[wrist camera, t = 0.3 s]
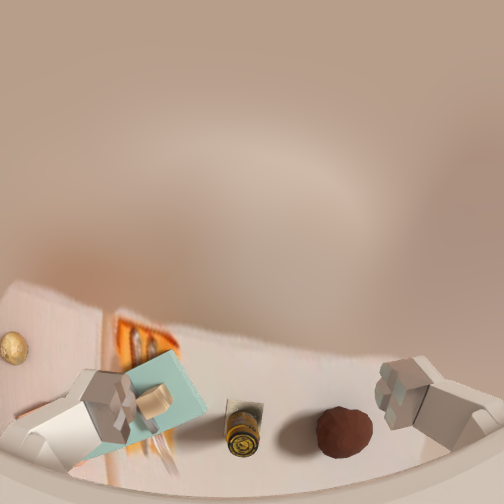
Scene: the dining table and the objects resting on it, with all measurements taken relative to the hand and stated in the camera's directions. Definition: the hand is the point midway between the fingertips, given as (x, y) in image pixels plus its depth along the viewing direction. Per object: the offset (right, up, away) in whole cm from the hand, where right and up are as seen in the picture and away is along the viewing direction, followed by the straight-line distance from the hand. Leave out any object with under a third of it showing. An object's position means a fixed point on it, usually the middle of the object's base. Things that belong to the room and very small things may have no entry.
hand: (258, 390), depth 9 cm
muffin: (+18, -33, +48) cm, 61 cm away
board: (-27, -29, +47) cm, 61 cm away
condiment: (-2, -30, +48) cm, 57 cm away
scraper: (-19, -24, +44) cm, 54 cm away
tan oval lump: (-56, -19, +48) cm, 76 cm away
